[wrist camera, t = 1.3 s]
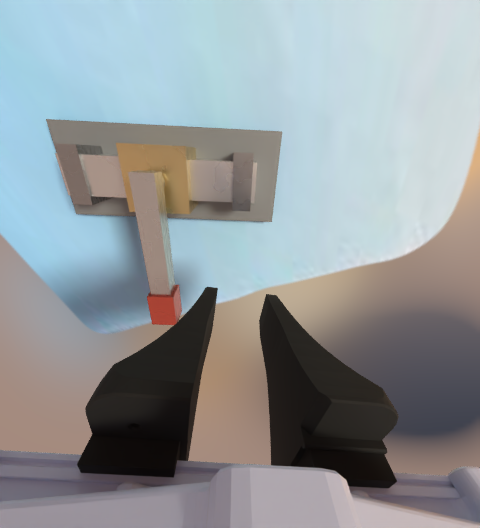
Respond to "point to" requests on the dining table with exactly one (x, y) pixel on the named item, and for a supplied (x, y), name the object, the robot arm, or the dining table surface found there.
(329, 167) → the dining table surface
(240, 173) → the pipe and valve
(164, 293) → the valve lever
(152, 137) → the board
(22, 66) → the dining table surface
